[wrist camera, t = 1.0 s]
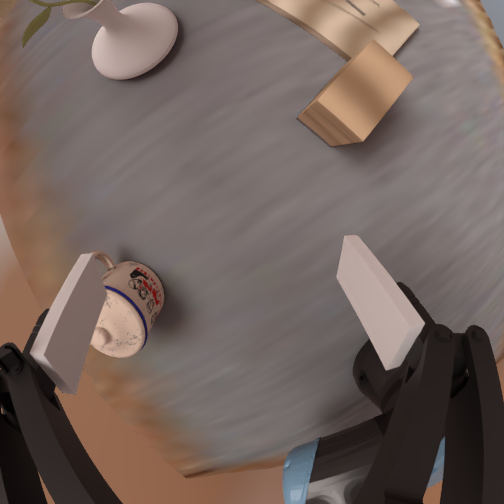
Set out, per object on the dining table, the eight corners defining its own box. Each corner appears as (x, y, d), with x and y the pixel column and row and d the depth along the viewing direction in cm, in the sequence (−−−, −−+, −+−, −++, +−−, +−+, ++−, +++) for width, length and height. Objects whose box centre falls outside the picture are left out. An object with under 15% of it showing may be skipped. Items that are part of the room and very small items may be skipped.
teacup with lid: (178, 310, 36) (154, 366, 25) (125, 325, 37) (92, 377, 26) (138, 227, 32) (92, 258, 21) (86, 251, 33) (36, 286, 22)
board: (414, 28, 24) (419, 24, 22) (368, 80, 27) (373, 77, 26) (301, -51, 20) (303, -57, 18) (239, -8, 23) (239, -14, 22)
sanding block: (340, 68, 27) (373, 39, 17) (371, 96, 28) (413, 77, 18) (296, 118, 29) (317, 100, 19) (329, 146, 30) (363, 141, 20)
